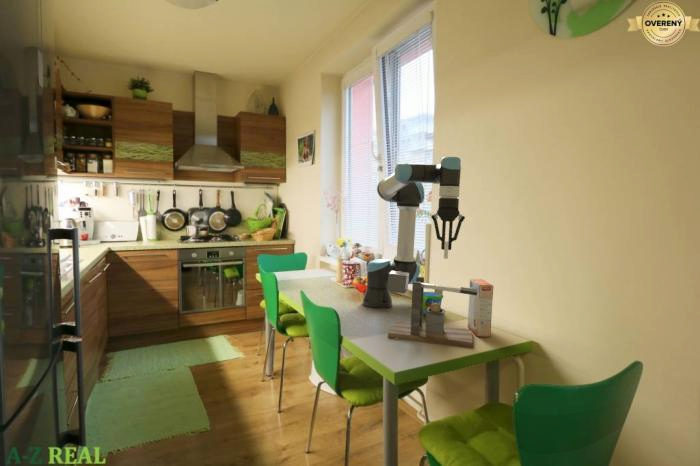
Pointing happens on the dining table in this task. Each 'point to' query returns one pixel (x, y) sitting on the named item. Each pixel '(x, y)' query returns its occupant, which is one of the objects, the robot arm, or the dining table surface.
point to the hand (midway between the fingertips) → (445, 258)
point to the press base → (432, 338)
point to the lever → (400, 285)
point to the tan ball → (435, 307)
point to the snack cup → (430, 300)
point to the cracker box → (480, 308)
